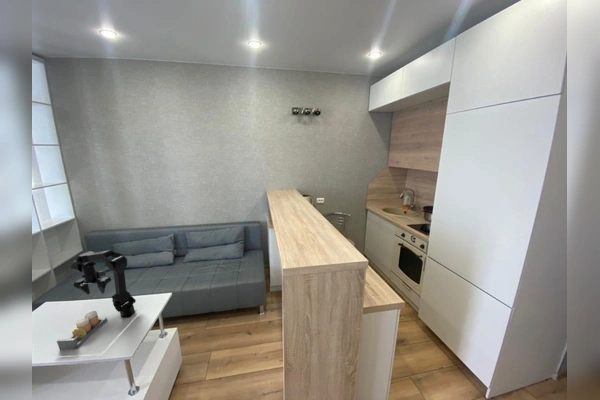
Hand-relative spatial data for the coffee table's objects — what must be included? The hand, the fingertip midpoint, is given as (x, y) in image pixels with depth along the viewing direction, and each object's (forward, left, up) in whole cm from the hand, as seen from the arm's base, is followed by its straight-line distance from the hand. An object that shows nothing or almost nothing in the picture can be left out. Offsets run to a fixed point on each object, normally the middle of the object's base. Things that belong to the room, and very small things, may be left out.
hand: (96, 293), depth 142 cm
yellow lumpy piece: (-8, +24, -11) cm, 28 cm away
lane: (-8, +20, -12) cm, 25 cm away
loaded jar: (-8, +19, -12) cm, 24 cm away
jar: (-8, +14, -12) cm, 20 cm away
